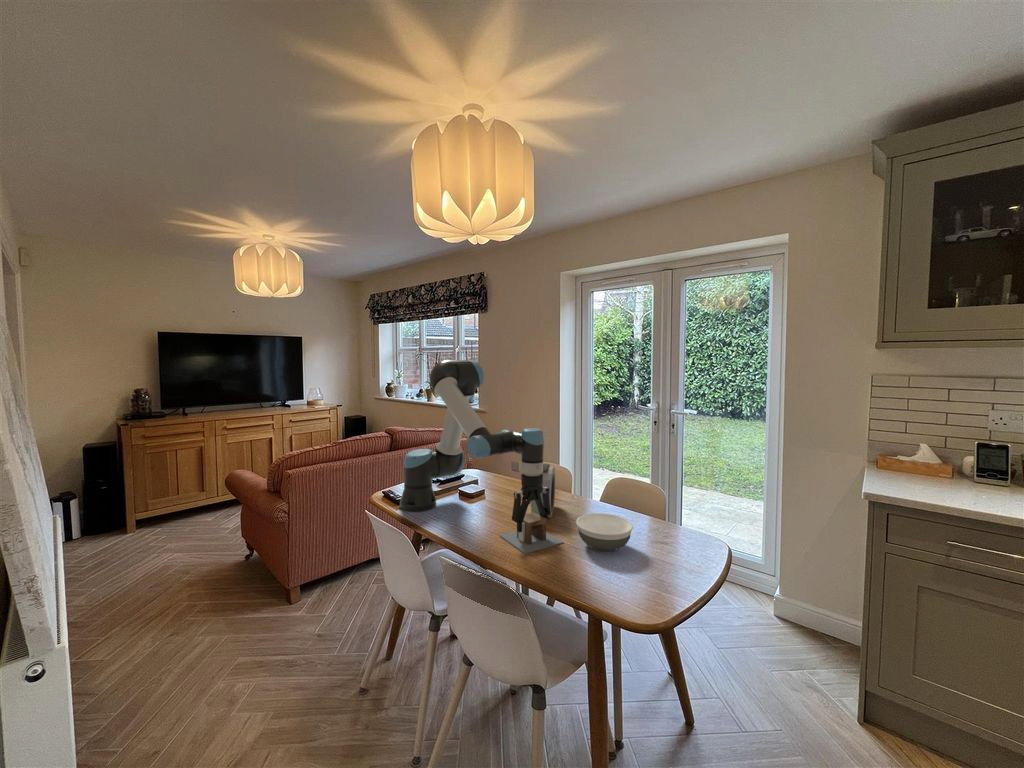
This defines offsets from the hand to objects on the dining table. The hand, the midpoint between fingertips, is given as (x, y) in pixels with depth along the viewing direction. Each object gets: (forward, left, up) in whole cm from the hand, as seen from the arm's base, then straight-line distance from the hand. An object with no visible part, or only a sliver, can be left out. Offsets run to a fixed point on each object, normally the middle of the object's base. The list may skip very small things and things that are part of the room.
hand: (531, 537), depth 148 cm
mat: (0, 0, -1) cm, 1 cm away
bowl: (+17, +18, -1) cm, 25 cm away
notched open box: (0, 0, 0) cm, 0 cm away
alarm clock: (-20, +20, -1) cm, 28 cm away
